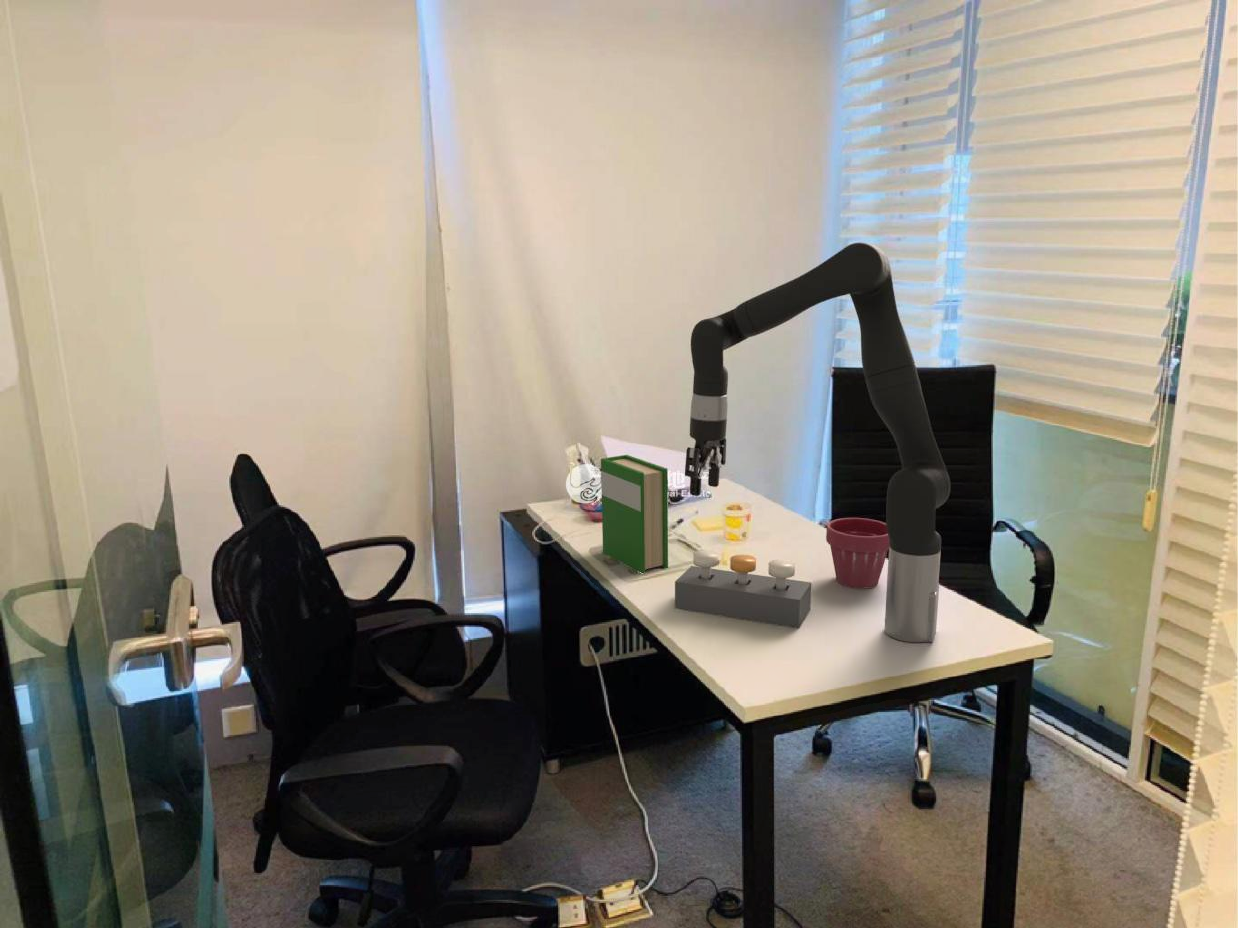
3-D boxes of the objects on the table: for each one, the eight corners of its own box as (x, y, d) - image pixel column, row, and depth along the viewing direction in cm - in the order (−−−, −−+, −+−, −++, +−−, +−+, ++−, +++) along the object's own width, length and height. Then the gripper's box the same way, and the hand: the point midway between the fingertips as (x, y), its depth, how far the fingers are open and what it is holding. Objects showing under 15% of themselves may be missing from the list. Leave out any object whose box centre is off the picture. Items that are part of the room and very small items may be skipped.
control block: (810, 609, 181) (811, 582, 179) (798, 628, 172) (799, 599, 171) (691, 591, 191) (691, 565, 190) (675, 608, 183) (674, 581, 181)
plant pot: (897, 576, 198) (900, 522, 195) (881, 597, 187) (884, 540, 184) (835, 566, 205) (837, 513, 202) (816, 585, 194) (818, 530, 191)
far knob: (721, 583, 185) (721, 551, 184) (713, 591, 181) (713, 559, 179) (698, 579, 187) (698, 548, 186) (689, 588, 183) (689, 556, 181)
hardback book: (668, 567, 207) (667, 468, 201) (641, 574, 203) (640, 473, 197) (628, 547, 221) (626, 454, 216) (603, 553, 217) (600, 458, 212)
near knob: (796, 594, 179) (797, 561, 177) (790, 603, 174) (791, 569, 172) (771, 590, 181) (772, 558, 179) (764, 599, 176) (765, 566, 175)
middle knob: (758, 588, 182) (759, 556, 180) (751, 597, 177) (751, 564, 176) (734, 585, 184) (734, 553, 182) (726, 593, 180) (726, 561, 178)
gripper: (709, 423, 173) (705, 501, 178) (739, 412, 185) (734, 486, 189) (676, 418, 177) (672, 495, 181) (707, 407, 189) (703, 480, 193)
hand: (704, 490), depth 185 cm, fingers open, 8 cm apart
